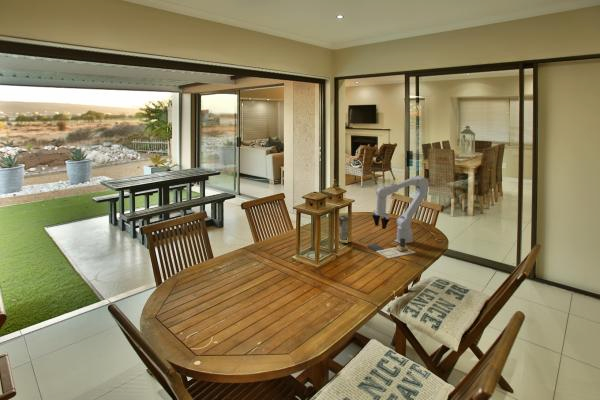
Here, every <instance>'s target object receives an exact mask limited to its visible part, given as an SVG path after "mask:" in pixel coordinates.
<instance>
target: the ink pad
mask: <svg viewBox="0 0 600 400" xmlns="http://www.w3.org/2000/svg"><path fill="white" fill-rule="evenodd" d="M366 247H367V248H368V249H369V250H371V251H372V252H376V251H379V250H384V247H383V246H381V245H379V244H377V243H375V244H368V245H366Z"/></svg>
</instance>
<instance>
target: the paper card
mask: <svg viewBox="0 0 600 400" xmlns="http://www.w3.org/2000/svg"><path fill="white" fill-rule="evenodd" d="M375 253H377V254H379V255H382V256H383V257H385V258H387V259H392V258H397V257H402V256H408V255H412V254H416V253H417V252H415V251H414V250H412V249H410V248H408V251H404V252H400V251H398V250H397V246H396V247H390V248H389V247H388V248H386V249H384V248H383V249H381V250H376V251H375Z"/></svg>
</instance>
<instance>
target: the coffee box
mask: <svg viewBox="0 0 600 400" xmlns="http://www.w3.org/2000/svg"><path fill="white" fill-rule="evenodd" d="M348 218H349V217H348V216H346V215H340V217H339V235H340V239H341V240H347V237H348Z"/></svg>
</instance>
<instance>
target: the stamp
mask: <svg viewBox="0 0 600 400" xmlns="http://www.w3.org/2000/svg"><path fill="white" fill-rule="evenodd" d="M396 247H397V250H398V251H400V252H404V251H408V249H409V246H408V245H406V243H405V239H404V238H401V239H400V243H399V245H398V244H397V245H396Z"/></svg>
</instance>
